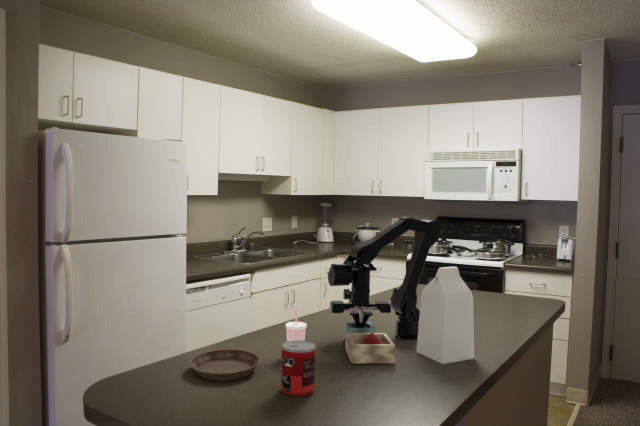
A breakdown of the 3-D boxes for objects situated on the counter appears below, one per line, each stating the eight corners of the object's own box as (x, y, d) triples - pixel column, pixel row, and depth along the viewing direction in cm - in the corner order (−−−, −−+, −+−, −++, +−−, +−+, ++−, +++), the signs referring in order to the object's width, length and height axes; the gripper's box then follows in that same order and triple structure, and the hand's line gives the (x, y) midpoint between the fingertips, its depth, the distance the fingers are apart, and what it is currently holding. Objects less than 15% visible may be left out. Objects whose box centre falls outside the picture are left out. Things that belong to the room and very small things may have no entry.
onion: (379, 364, 144) (380, 335, 143) (359, 361, 145) (360, 333, 145) (382, 357, 149) (383, 330, 149) (362, 355, 151) (363, 328, 150)
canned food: (280, 384, 127) (281, 340, 126) (313, 384, 128) (314, 340, 127) (280, 397, 119) (281, 350, 119) (315, 397, 120) (316, 350, 119)
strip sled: (375, 337, 169) (376, 321, 168) (394, 363, 144) (395, 345, 144) (339, 337, 167) (339, 321, 167) (351, 363, 143) (352, 345, 142)
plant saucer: (227, 389, 123) (227, 377, 123) (175, 374, 133) (175, 362, 133) (273, 368, 138) (273, 357, 138) (223, 356, 148) (223, 345, 147)
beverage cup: (309, 353, 151) (310, 305, 151) (301, 359, 145) (302, 310, 145) (289, 350, 153) (290, 303, 153) (281, 356, 147) (282, 308, 147)
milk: (442, 364, 145) (445, 271, 144) (416, 351, 155) (419, 265, 154) (474, 358, 151) (478, 269, 149) (447, 347, 161) (450, 263, 160)
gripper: (383, 280, 173) (382, 327, 174) (328, 280, 171) (326, 327, 172) (392, 286, 162) (390, 336, 163) (332, 286, 160) (331, 336, 161)
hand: (359, 333), depth 165 cm, fingers closed, pressing on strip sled
